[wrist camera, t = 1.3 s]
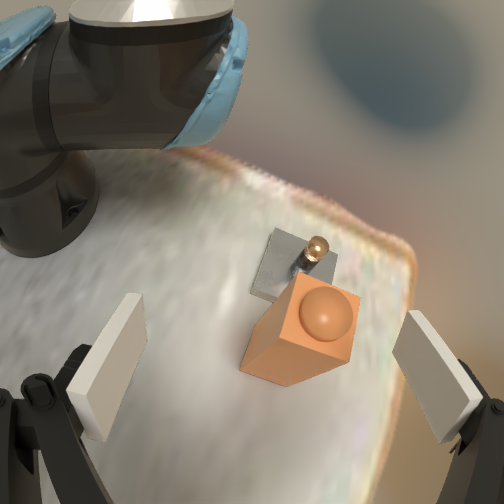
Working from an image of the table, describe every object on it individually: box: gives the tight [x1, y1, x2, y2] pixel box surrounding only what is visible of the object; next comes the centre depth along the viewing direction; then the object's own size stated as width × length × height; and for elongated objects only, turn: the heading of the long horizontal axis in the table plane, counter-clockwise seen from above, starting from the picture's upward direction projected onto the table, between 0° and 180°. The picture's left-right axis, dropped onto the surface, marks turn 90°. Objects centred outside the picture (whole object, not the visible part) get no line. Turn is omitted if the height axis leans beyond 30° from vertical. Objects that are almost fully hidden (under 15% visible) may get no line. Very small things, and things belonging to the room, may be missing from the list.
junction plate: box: [251, 228, 338, 303], centre depth 32 cm, size 8×8×7 cm
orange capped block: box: [240, 271, 360, 387], centre depth 25 cm, size 5×5×13 cm
